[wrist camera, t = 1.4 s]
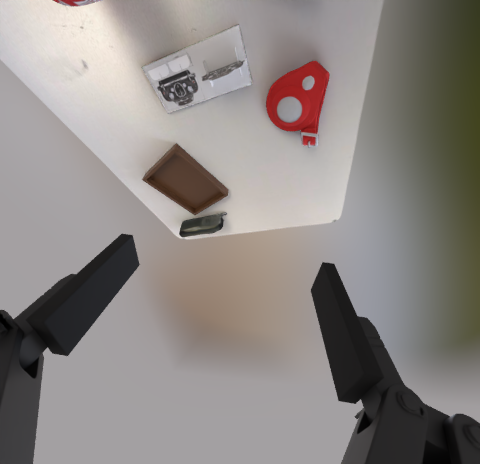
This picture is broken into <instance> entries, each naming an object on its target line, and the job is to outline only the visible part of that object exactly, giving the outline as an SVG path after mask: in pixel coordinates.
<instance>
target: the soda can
mask: <svg viewBox="0 0 480 464" xmlns="http://www.w3.org/2000/svg"><path fill="white" fill-rule="evenodd" d="M54 1H55V2H58V3H60V4H63V5H67V6H82V5H87V4H91V3H95V2H98V1H102V0H54Z"/></svg>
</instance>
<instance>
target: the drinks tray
mask: <svg viewBox="0 0 480 464" xmlns="http://www.w3.org/2000/svg"><path fill="white" fill-rule="evenodd" d="M142 180H143V181H145V182H146V183H148V184H149V185H151V186H152V187H154V188H155V189H157V190H158V191H160V192H161V193H163V194H164V195H165V196H167V197H168V198H170V199H171V200H173V201H174V202H176V203H177V204H179V205H180V206H182V207H183V208H185V209H186V210H188V211H189V212H191V213H192V214H194V215H196V214H198V213H199V212H201V211H203V210H204V209H206V208H208V207H209V206H211V205H213V204H214V203H216V202H218V201H219V200H221V199H223V198H224V197H226V196H228V189H227V188H226V187H225V186H224V185H223V184H222V183H220V182H219V181H218V180H217V179H216V178H215V177H214V176H213V175H211V174H210V173H209V172H208V171H207V170H206V169H205V168H203V167H202V166H201V165H200V164H199V163H198V162H197V161H196V160H194V159H193V158H192V157H191V156H190V155H189V154H188V153H187V152H185V151H184V150H183V149H182V148H181V147H180V146H179V145H178V144H175V145H174V146H173V147H172V148H171V149H170V150H169V151H168V152H167V153H166V154H165V155H164V156H163V157H162V158H161V159H160V160H159V161H158V162H157V163H156V164H155V165H154V166H153V167H152V168H151V169H150V170H149V171H148V172H147V173H146V174H145V176H144V177H143V179H142Z"/></svg>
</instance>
